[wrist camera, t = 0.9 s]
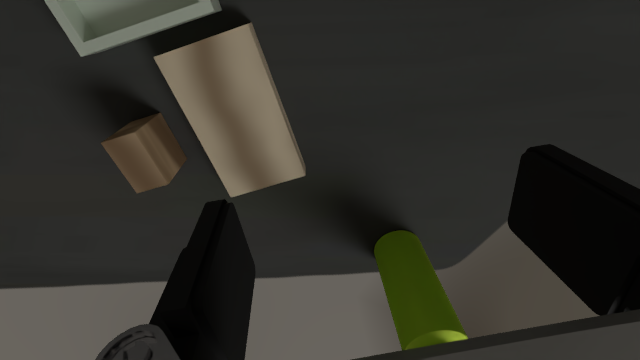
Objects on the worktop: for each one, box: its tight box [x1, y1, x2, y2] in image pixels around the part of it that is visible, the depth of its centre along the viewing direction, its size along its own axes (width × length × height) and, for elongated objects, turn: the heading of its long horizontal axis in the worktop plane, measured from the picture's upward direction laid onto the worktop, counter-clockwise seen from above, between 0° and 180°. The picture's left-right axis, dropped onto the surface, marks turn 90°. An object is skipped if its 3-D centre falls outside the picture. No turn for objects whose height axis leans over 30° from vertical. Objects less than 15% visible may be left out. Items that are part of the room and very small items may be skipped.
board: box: [154, 22, 306, 197], centre depth 28 cm, size 8×14×2 cm, turn 17°
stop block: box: [101, 113, 187, 193], centre depth 27 cm, size 3×5×5 cm, turn 16°
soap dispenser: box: [374, 230, 468, 350], centre depth 30 cm, size 6×7×20 cm
